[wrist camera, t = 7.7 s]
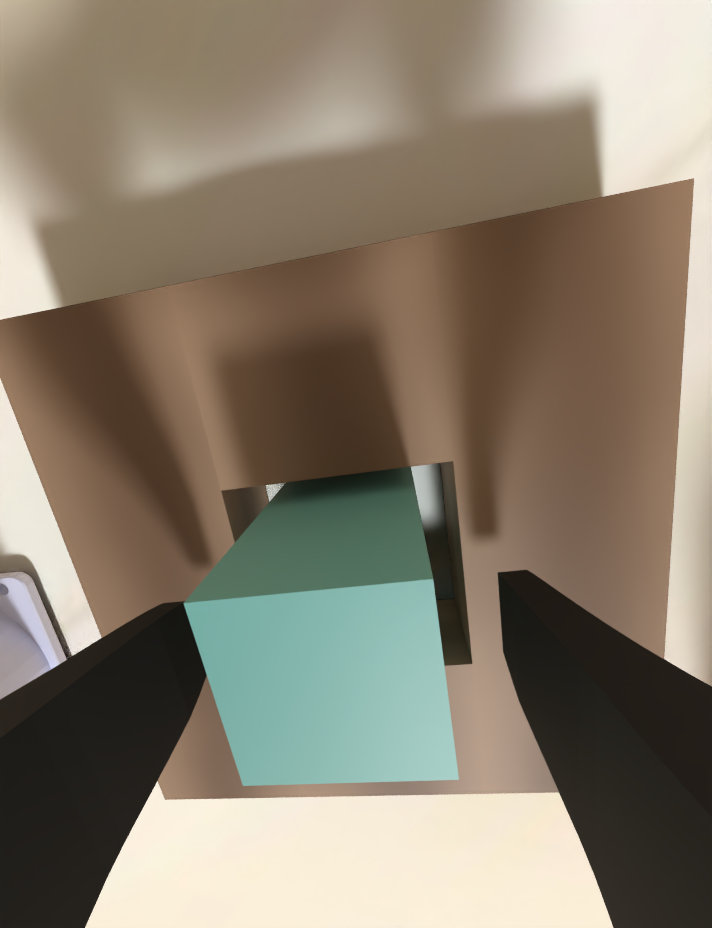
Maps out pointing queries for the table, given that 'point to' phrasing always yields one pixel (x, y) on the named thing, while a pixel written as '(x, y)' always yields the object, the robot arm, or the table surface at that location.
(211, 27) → the table surface
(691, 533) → the table surface
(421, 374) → the holder block
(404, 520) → the teal peg
